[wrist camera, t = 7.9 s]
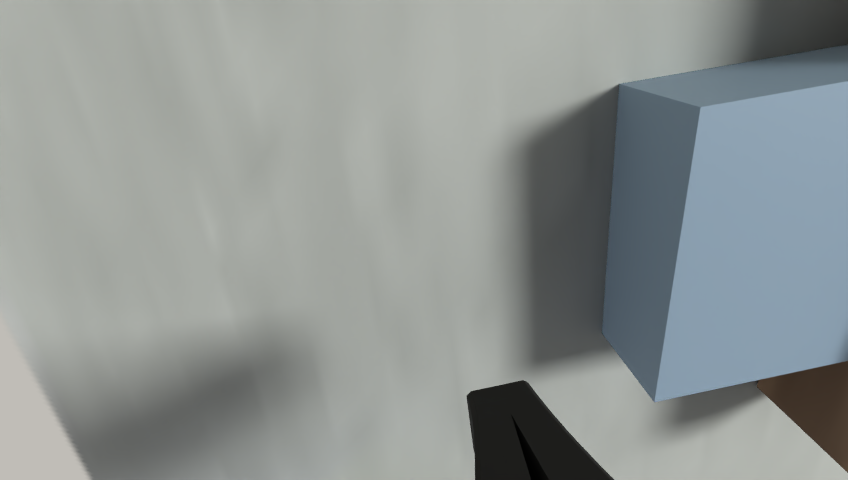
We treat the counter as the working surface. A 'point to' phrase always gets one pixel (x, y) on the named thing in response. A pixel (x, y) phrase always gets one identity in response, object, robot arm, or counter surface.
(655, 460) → the counter surface
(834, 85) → the block
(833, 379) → the board
